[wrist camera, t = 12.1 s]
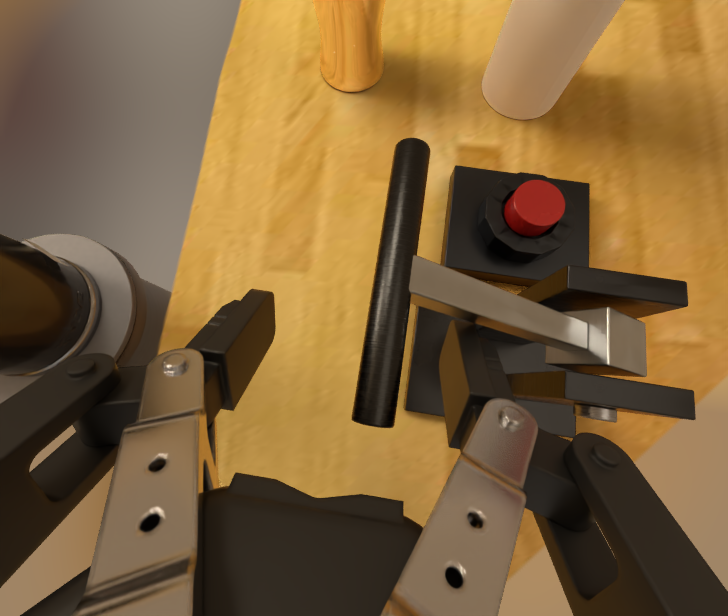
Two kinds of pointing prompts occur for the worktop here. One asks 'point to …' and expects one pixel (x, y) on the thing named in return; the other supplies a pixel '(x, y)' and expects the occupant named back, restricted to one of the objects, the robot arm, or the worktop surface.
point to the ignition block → (498, 241)
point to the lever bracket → (550, 383)
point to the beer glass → (350, 42)
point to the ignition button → (534, 208)
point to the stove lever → (467, 305)
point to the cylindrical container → (542, 52)
